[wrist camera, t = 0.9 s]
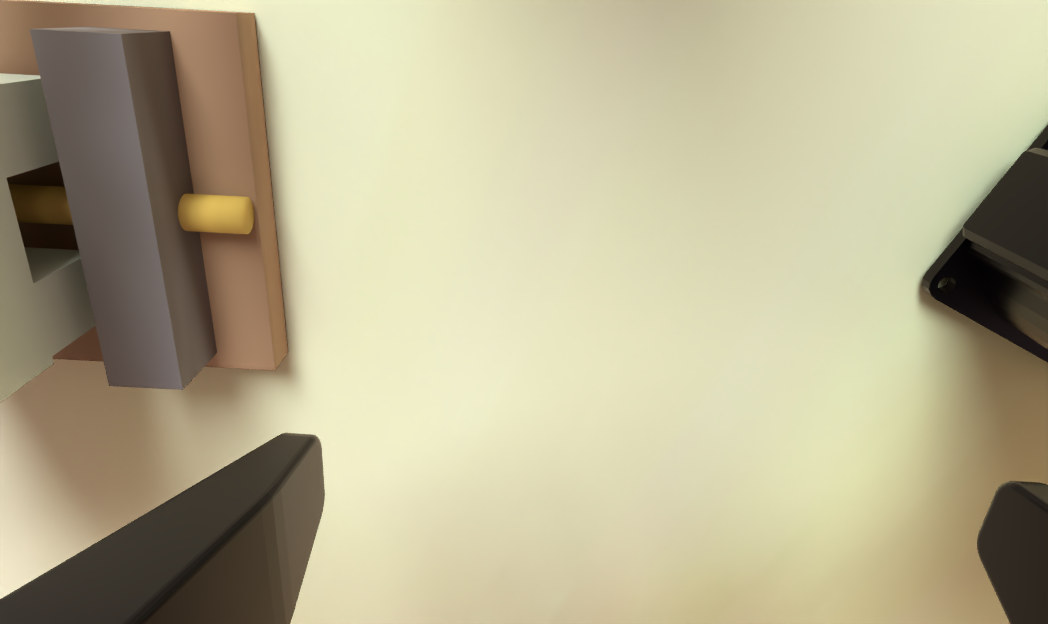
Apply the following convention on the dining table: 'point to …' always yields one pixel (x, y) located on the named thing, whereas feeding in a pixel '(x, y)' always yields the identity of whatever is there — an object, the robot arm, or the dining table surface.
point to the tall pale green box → (32, 250)
